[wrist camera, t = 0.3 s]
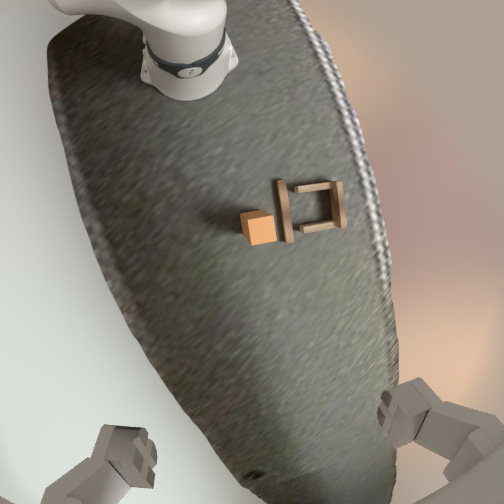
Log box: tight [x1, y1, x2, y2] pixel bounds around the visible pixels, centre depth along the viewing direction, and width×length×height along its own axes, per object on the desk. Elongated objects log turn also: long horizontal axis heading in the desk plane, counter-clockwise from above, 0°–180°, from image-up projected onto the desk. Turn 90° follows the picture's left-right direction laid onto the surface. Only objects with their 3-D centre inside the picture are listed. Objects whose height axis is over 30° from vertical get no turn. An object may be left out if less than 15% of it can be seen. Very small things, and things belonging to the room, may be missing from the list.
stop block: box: [240, 210, 277, 245], centre depth 48 cm, size 4×4×10 cm
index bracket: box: [294, 181, 347, 233], centre depth 52 cm, size 9×8×4 cm
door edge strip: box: [276, 179, 294, 243], centre depth 53 cm, size 12×2×1 cm, turn 9°
